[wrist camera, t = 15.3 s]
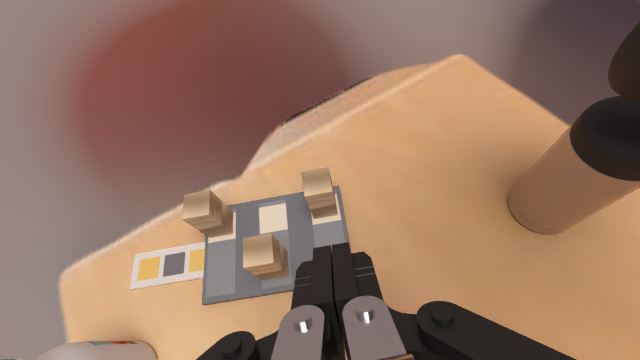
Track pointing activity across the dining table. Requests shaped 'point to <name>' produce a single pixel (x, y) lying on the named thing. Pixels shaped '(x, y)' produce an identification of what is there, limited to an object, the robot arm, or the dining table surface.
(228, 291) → the toggle board
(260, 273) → the block
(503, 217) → the dining table surface
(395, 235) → the dining table surface
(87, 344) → the milk bottle
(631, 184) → the robot arm
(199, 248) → the card
